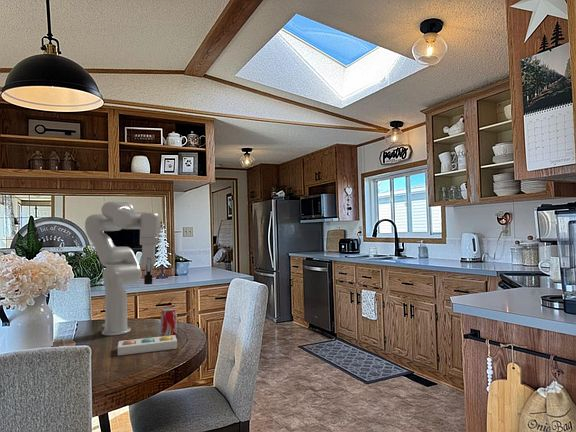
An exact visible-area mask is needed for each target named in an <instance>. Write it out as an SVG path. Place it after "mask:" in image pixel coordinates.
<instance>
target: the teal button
mask: <svg viewBox="0 0 576 432" xmlns="http://www.w3.org/2000/svg"><path fill="white" fill-rule="evenodd" d="M145 338H146V339H143V338H142V339H143V343H148V342H153V338H152V337H145Z"/></svg>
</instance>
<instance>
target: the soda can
mask: <svg viewBox="0 0 576 432" xmlns="http://www.w3.org/2000/svg"><path fill="white" fill-rule="evenodd" d="M177 334H178V313H177V310H176V308H174V307H166V308H162V309H161V313H160V335H161V336H171V335H175V336H176V335H177Z"/></svg>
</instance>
